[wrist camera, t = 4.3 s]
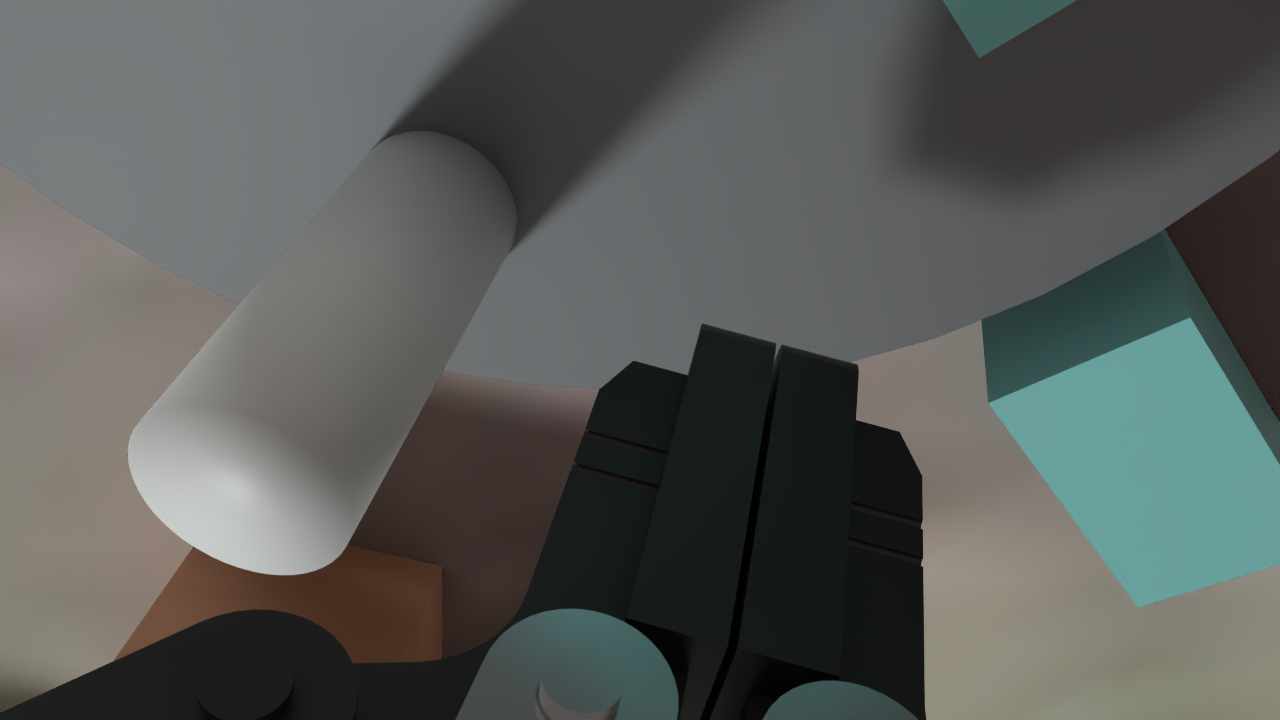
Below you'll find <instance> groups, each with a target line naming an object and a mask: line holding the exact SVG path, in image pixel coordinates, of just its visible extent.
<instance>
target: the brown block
mask: <svg viewBox="0 0 1280 720" xmlns="http://www.w3.org/2000/svg"><path fill="white" fill-rule="evenodd" d="M253 609H259V610H276V611H281V612H287V613H292V614H295V615H298V616H301V617H304V618H306V619H308V620H310V621H312V622H314V623H316V624H318V625H320V626H321V627H323V628H324V629H325V630H327V631H328V632H329V633H331V634H332V635H333V636H334V637H335V638H336V639H337V640H338V641H339V642H340V644H341V645H342V646H343V647H344V648H345V650H346V652H347V654H348V655H349V657H350V659H351V661H352V663H390V662H421V661H433V660H439V659H442V566H439V565H435V564H431V563H426V562H422V561H417V560H413V559H409V558H404V557H400V556H395V555H391V554H387V553H382V552H378V551H373V550H369V549H365V548H360V547H356V546H352V545H347V546H346V548H345V549H344V551H343V552H342V553H341V555H340V556H339V557H338V558H336V559H335V560H334V561H333V562H332V563H330V564H328V565H327V566H325V567H323V568H321V569H318V570H316V571H312V572H308V573H304V574H297V575H271V574H263V573H258V572H253V571H249V570H245V569H242V568H238V567H235V566H233V565H230V564H227V563H224V562H222V561H220V560H218V559H216V558H213V557H211V556H209V555H208V554H206V553H204V552H202V551H200V550H198V549H197V548H195V547H193V548H192V550H191V551H190V552H189V554H188V555H187V557H186V558H185V560H184V561H183V562H182V564H181V565H180V567H179V568H178V570H177V571H176V573H175V574H174V575H173V577H172V578H171V580H170V581H169V583H168V584H167V585H166V587H165V588H164V590H163V591H162V593H161V594H160V595H159V597H158V598H157V600H156V601H155V603H154V604H153V605H152V607H151V608H150V610H149V611H148V613H147V614H146V615H145V617H144V618H143V620H142V621H141V623H140V624H139V625H138V627H137V628H136V630H135V631H134V633H133V634H132V635H131V637H130V638H129V640H128V641H127V643H126V644H125V645H124V647H123V648H122V650H121V651H120V653H119V654H118V655H117V657H116V658H115V660H118V659H120V658H122V657H124V656H126V655H129V654H131V653H133V652H135V651H137V650H140V649H142V648H144V647H146V646H148V645H151V644H153V643H155V642H157V641H159V640H162V639H164V638H166V637H168V636H170V635H172V634H175V633H177V632H179V631H181V630H183V629H186V628H188V627H190V626H192V625H194V624H197V623H199V622H201V621H204V620H207V619H209V618H212V617H215V616H218V615H222V614H226V613H230V612H234V611H243V610H253ZM115 660H114V661H115Z"/></svg>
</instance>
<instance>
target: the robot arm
mask: <svg viewBox="0 0 1280 720" xmlns="http://www.w3.org/2000/svg"><path fill="white" fill-rule="evenodd" d="M775 351H776V343H774V342H770V341H766V340H763V339H759V338H755V337H751V336H748V335H744V334H740V333H736V332H733V331H729V330H725V329H721V328H718V327H714V326H710V325H707V324H703V323H702V324H701V328H700V331H699V335H698V338H697V342H696V346H695V349H694V353H693V357H692V360H691V364H690V367H689V371H688V375H685V374H681V373H678V372H674V371H670V370H667V369H663V368H659V367H655V366H652V365H648V364H644V363H641V362H637V361H632V362H631V363H630V364H629V365H628V366H626V367H625V368H624V369H623V370H622V371H621V372H619V373H618V374H617V375H616V376H615V377H613V378H612V379H611V380H610V381H609V382H608V383H606V384H605V385H604V386H603V387H602V388H600V389H599V392H598V395H597V398H596V400H595V403H594V406H593V409H592V412H591V415H590V417H589V420H588V423H587V426H586V429H585V432H584V436H583V437H582V440H581V443H580V445H579V448H578V451H577V454H576V457H575V460H574V462H573V466H572V470H571V471H570V474H569V476H568V479H567V482H566V485H565V488H564V490H563V493H562V496H561V499H560V502H559V505H558V507H557V510H556V513H555V516H554V519H553V521H552V524H551V527H550V530H549V533H548V535H547V538H546V541H545V544H544V547H543V550H542V552H541V555H540V558H539V561H538V564H537V566H536V569H535V572H534V575H533V578H532V580H531V583H530V586H529V589H528V592H527V595H526V597H525V599H524V601H523V603H522V605H521V608H520V609H519V611H518V612H517V613H516V615H515V616H514V618H513V619H512V621H511V622H510V623H509V624H508V625H507V626H506V627H505V628H504V629H503V630H502V631H501V632H499V633H498V634H497V635H495V636H494V637H493V638H491V639H490V640H488V641H487V642H485V643H483V644H482V645H480V646H478V647H476V648H474V649H472V650H470V651H467V652H464V653H461V654H459V655H456V656H453V657H448V658H443V659H439V660H433V661H421V662H390V663H352V661H351V659H350V657H349V655H348V654H347V652H346V650H345V648H344V647H343V646H342V645H341V644H340V642H339V641H338V640H337V639H336V638H335V637H334V636H333V635H332V634H331V633H329V632H328V631H327V630H325V629H324V628H323V627H321V626H320V625H318V624H316V623H314V622H312V621H310V620H308V619H306V618H304V617H301V616H298V615H295V614H292V613H287V612H281V611H276V610H259V609H253V610H243V611H234V612H230V613H226V614H222V615H218V616H215V617H212V618H209V619H207V620H204V621H201V622H199V623H197V624H194V625H192V626H190V627H188V628H186V629H183V630H181V631H179V632H177V633H175V634H172V635H170V636H168V637H166V638H164V639H162V640H159V641H157V642H155V643H153V644H151V645H148V646H146V647H144V648H142V649H140V650H137V651H135V652H133V653H131V654H129V655H126V656H124V657H122V658H120V659H118V660H115V661H113V662H111V663H109V664H107V665H104V666H102V667H100V668H98V669H96V670H93V671H91V672H89V673H87V674H85V675H82V676H80V677H78V678H76V679H74V680H71V681H69V682H67V683H65V684H63V685H61V686H58V687H56V688H54V689H52V690H50V691H47V692H45V693H43V694H41V695H39V696H36V697H34V698H32V699H30V700H28V701H25V702H23V703H21V704H19V705H17V706H14V707H12V708H10V709H8V710H6V711H3V712H1V713H0V720H926V714H925V692H924V601H923V567H921V562H922V559H923V529H921V524H922V521H923V510H922V475H921V473H920V471H919V469H918V467H917V465H916V463H915V461H914V459H913V457H912V455H911V453H910V451H909V450H908V448H907V446H906V444H905V442H904V440H903V438H902V436H901V434H900V432H898V431H894V430H891V429H887V428H883V427H879V426H876V425H872V424H868V423H865V422H861V421H857V420H856V408H857V391H858V373H859V370H858V365H857V364H853V363H850V362H846V361H842V360H839V359H835V358H831V357H827V356H824V355H820V354H816V353H812V352H809V351H805V350H801V349H797V348H794V347H790V346H786V345H781V347H780V348H779V351H778V353H777V356H776V358H775ZM774 358H775V361H774Z"/></svg>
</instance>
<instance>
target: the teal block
mask: <svg viewBox="0 0 1280 720" xmlns="http://www.w3.org/2000/svg"><path fill="white" fill-rule="evenodd" d="M982 331H983V343H984V356H985V368H986V380H987V392H988V403H989V405H990V406H991V407H992V409H993V410H994V411H995V413H996V414H997V416H998V417H999V418H1000V420H1001V421H1002V422H1003V424H1004V425H1005V426H1006V428H1007V429H1008V431H1009V432H1010V433H1011V435H1012V436H1013V437H1014V439H1015V440H1016V442H1017V443H1018V444H1019V446H1020V447H1021V448H1022V450H1023V451H1024V452H1025V454H1026V455H1027V457H1028V458H1029V459H1030V461H1031V462H1032V463H1033V465H1034V466H1035V468H1036V469H1037V470H1038V472H1039V473H1040V474H1041V476H1042V477H1043V478H1044V480H1045V481H1046V483H1047V484H1048V485H1049V487H1050V488H1051V489H1052V491H1053V492H1054V494H1055V495H1056V496H1057V498H1058V499H1059V500H1060V502H1061V503H1062V504H1063V506H1064V507H1065V509H1066V510H1067V511H1068V513H1069V514H1070V515H1071V517H1072V518H1073V520H1074V521H1075V522H1076V524H1077V525H1078V526H1079V528H1080V529H1081V530H1082V532H1083V533H1084V535H1085V536H1086V537H1087V539H1088V540H1089V541H1090V543H1091V544H1092V546H1093V547H1094V548H1095V550H1096V551H1097V552H1098V554H1099V555H1100V556H1101V558H1102V559H1103V561H1104V562H1105V563H1106V565H1107V566H1108V567H1109V569H1110V570H1111V572H1112V573H1113V574H1114V576H1115V577H1116V578H1117V580H1118V581H1119V582H1120V584H1121V585H1122V587H1123V588H1124V589H1125V591H1126V592H1127V593H1128V595H1129V596H1130V598H1131V599H1132V600H1133V602H1134V603H1135V604H1136V606H1137V607H1141V606H1144V605H1148V604H1151V603H1154V602H1158V601H1161V600H1164V599H1168V598H1171V597H1174V596H1177V595H1181V594H1184V593H1187V592H1191V591H1194V590H1197V589H1200V588H1204V587H1207V586H1210V585H1214V584H1217V583H1220V582H1223V581H1227V580H1230V579H1233V578H1237V577H1240V576H1243V575H1246V574H1250V573H1253V572H1256V571H1260V570H1263V569H1266V568H1269V567H1273V566H1276V565H1279V564H1280V423H1279V421H1278V419H1277V417H1276V416H1275V414H1274V412H1273V411H1272V409H1271V407H1270V406H1269V404H1268V402H1267V401H1266V399H1265V397H1264V396H1263V394H1262V392H1261V391H1260V389H1259V387H1258V386H1257V384H1256V382H1255V380H1254V379H1253V377H1252V375H1251V374H1250V372H1249V370H1248V369H1247V367H1246V365H1245V364H1244V362H1243V360H1242V359H1241V357H1240V355H1239V354H1238V352H1237V350H1236V348H1235V347H1234V345H1233V343H1232V342H1231V340H1230V338H1229V337H1228V335H1227V333H1226V332H1225V330H1224V328H1223V327H1222V325H1221V323H1220V322H1219V320H1218V318H1217V316H1216V315H1215V313H1214V311H1213V310H1212V308H1211V306H1210V305H1209V303H1208V301H1207V300H1206V298H1205V296H1204V295H1203V293H1202V291H1201V290H1200V288H1199V286H1198V285H1197V283H1196V281H1195V279H1194V278H1193V276H1192V274H1191V273H1190V271H1189V269H1188V268H1187V266H1186V264H1185V263H1184V261H1183V259H1182V258H1181V256H1180V254H1179V253H1178V251H1177V249H1176V247H1175V246H1174V244H1173V242H1172V241H1171V239H1170V237H1169V236H1168V234H1167V232H1166V231H1165V229H1163V230H1162V231H1160V232H1159V233H1157V234H1156V235H1154V236H1153V237H1151V238H1149V239H1147V240H1145V241H1143V242H1141V243H1139V244H1138V245H1136V246H1134V247H1132V248H1130V249H1128V250H1126V251H1124V252H1123V253H1121V254H1119V255H1117V256H1115V257H1113V258H1111V259H1109V260H1107V261H1106V262H1104V263H1102V264H1100V265H1098V266H1096V267H1094V268H1092V269H1091V270H1089V271H1087V272H1085V273H1083V274H1081V275H1079V276H1077V277H1075V278H1074V279H1072V280H1070V281H1068V282H1066V283H1064V284H1062V285H1060V286H1059V287H1057V288H1055V289H1053V290H1051V291H1049V292H1047V293H1045V294H1044V295H1041V296H1039V297H1036V298H1034V299H1031V300H1029V301H1026V302H1024V303H1021V304H1019V305H1016V306H1014V307H1011V308H1009V309H1007V310H1004V311H1002V312H999V313H997V314H994V315H992V316H989V317H987V318H984V319H982Z"/></svg>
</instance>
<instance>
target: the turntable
mask: <svg viewBox="0 0 1280 720" xmlns="http://www.w3.org/2000/svg"><path fill="white" fill-rule="evenodd" d="M1279 150H1280V0H0V163H1V164H2V165H4V166H5V167H6V168H8V169H9V170H11V171H12V172H13V173H15V174H16V175H18V176H19V177H20V178H22V179H23V180H24V181H26V182H27V183H29V184H30V185H31V186H33V187H34V188H36V189H37V190H38V191H40V192H41V193H43V194H44V195H45V196H47V197H48V198H50V199H51V200H52V201H54V202H55V203H57V204H58V205H59V206H61V207H62V208H63V209H65V210H66V211H68V212H69V213H71V214H73V215H74V216H76V217H78V218H79V219H81V220H83V221H84V222H86V223H88V224H89V225H91V226H93V227H94V228H96V229H98V230H99V231H101V232H103V233H104V234H106V235H108V236H109V237H111V238H113V239H115V240H116V241H118V242H120V243H121V244H123V245H125V246H126V247H128V248H130V249H131V250H133V251H135V252H136V253H138V254H140V255H141V256H143V257H145V258H146V259H148V260H150V261H151V262H153V263H155V264H156V265H158V266H160V267H162V268H164V269H166V270H168V271H170V272H172V273H174V274H176V275H178V276H181V277H183V278H185V279H187V280H189V281H191V282H193V283H195V284H197V285H199V286H201V287H203V288H205V289H208V290H210V291H212V292H214V293H216V294H218V295H220V296H222V297H224V298H226V299H228V300H230V301H232V302H234V303H237V304H239V305H238V307H237V308H236V309H235V310H234V311H233V312H232V314H231V315H230V316H229V317H228V318H227V319H226V321H225V322H224V323H223V324H222V325H221V327H220V328H219V329H218V330H217V331H216V332H215V334H214V335H213V336H212V337H211V338H210V339H209V341H208V342H207V343H206V344H205V345H204V346H203V348H202V349H201V350H200V351H199V352H198V353H197V355H196V356H195V357H194V358H193V359H192V360H191V362H190V363H189V364H188V365H187V366H186V367H185V369H184V370H183V371H182V372H181V373H180V374H179V376H178V377H177V378H176V379H175V380H174V381H173V383H172V384H171V385H170V386H169V387H168V388H167V390H166V391H165V392H164V393H163V394H162V395H161V397H160V398H159V399H158V400H157V401H156V402H155V404H154V405H153V406H152V407H151V408H150V409H149V411H148V412H147V413H146V414H145V415H144V417H143V418H142V419H141V420H140V421H139V423H138V424H137V425H136V427H135V428H134V430H133V432H132V434H131V437H130V441H129V445H128V461H129V467H130V471H131V474H132V477H133V480H134V482H135V484H136V486H137V489H138V491H139V492H140V494H141V496H142V497H143V499H144V500H145V502H146V503H147V504H148V506H149V507H150V508H151V510H152V511H153V512H154V513H155V514H156V515H157V517H158V518H159V519H160V520H161V521H162V522H163V523H164V524H165V525H166V526H168V527H169V528H170V529H171V530H172V531H173V532H174V533H176V534H177V535H178V536H179V537H181V538H182V539H183V540H185V541H186V542H188V543H189V544H191V545H192V546H194V547H195V548H197V549H198V550H200V551H202V552H204V553H206V554H208V555H209V556H211V557H213V558H216V559H218V560H220V561H222V562H224V563H227V564H230V565H233V566H235V567H238V568H242V569H245V570H249V571H253V572H258V573H263V574H271V575H297V574H304V573H308V572H312V571H316V570H318V569H321V568H323V567H325V566H327V565H328V564H330V563H332V562H333V561H334V560H335V559H336V558H338V557H339V556H340V555H341V553H342V552H343V551H344V549H345V548H346V546H347V544H348V543H349V541H350V539H351V537H352V535H353V534H354V532H355V530H356V528H357V526H358V525H359V523H360V521H361V519H362V517H363V515H364V514H365V512H366V510H367V508H368V506H369V505H370V503H371V501H372V499H373V497H374V495H375V494H376V492H377V490H378V488H379V486H380V485H381V483H382V481H383V479H384V477H385V476H386V474H387V472H388V470H389V468H390V466H391V465H392V463H393V461H394V459H395V457H396V456H397V454H398V452H399V450H400V448H401V446H402V445H403V443H404V441H405V439H406V437H407V436H408V434H409V432H410V430H411V428H412V427H413V425H414V423H415V421H416V419H417V417H418V416H419V414H420V412H421V410H422V408H423V407H424V405H425V403H426V401H427V399H428V398H429V396H430V394H431V392H432V390H433V388H434V387H435V385H436V383H437V381H438V379H439V378H440V376H441V374H442V372H443V371H448V372H454V373H461V374H467V375H473V376H480V377H486V378H492V379H499V380H505V381H511V382H517V383H524V384H530V385H545V386H564V387H582V388H602V387H603V386H604V385H605V384H606V383H608V382H609V381H610V380H611V379H612V378H613V377H615V376H616V375H617V374H618V373H619V372H621V371H622V370H623V369H624V368H625V367H626V366H628V365H629V364H630V363H631V362H632V361H637V362H641V363H644V364H648V365H652V366H655V367H659V368H663V369H667V370H670V371H674V372H678V373H681V374H685V375H688V371H689V367H690V364H691V360H692V357H693V353H694V349H695V346H696V342H697V338H698V335H699V331H700V328H701V324H702V323H703V324H707V325H710V326H714V327H718V328H721V329H725V330H729V331H733V332H736V333H740V334H744V335H748V336H751V337H755V338H759V339H763V340H766V341H770V342H774V343H776V351H775V358H776V356H777V353H778V351H779V348H780V347H781V345H786V346H790V347H794V348H797V349H801V350H805V351H809V352H812V353H816V354H820V355H824V356H827V357H831V358H835V359H839V360H842V361H846V362H852V361H856V360H859V359H863V358H866V357H870V356H873V355H877V354H881V353H884V352H888V351H891V350H895V349H899V348H902V347H906V346H909V345H913V344H916V343H920V342H924V341H927V340H931V339H934V338H937V337H939V336H942V335H944V334H947V333H949V332H952V331H954V330H957V329H959V328H962V327H964V326H967V325H969V324H972V323H974V322H977V321H979V320H982V319H984V318H987V317H989V316H992V315H994V314H997V313H999V312H1002V311H1004V310H1007V309H1009V308H1011V307H1014V306H1016V305H1019V304H1021V303H1024V302H1026V301H1029V300H1031V299H1034V298H1036V297H1039V296H1041V295H1044V294H1045V293H1047V292H1049V291H1051V290H1053V289H1055V288H1057V287H1059V286H1060V285H1062V284H1064V283H1066V282H1068V281H1070V280H1072V279H1074V278H1075V277H1077V276H1079V275H1081V274H1083V273H1085V272H1087V271H1089V270H1091V269H1092V268H1094V267H1096V266H1098V265H1100V264H1102V263H1104V262H1106V261H1107V260H1109V259H1111V258H1113V257H1115V256H1117V255H1119V254H1121V253H1123V252H1124V251H1126V250H1128V249H1130V248H1132V247H1134V246H1136V245H1138V244H1139V243H1141V242H1143V241H1145V240H1147V239H1149V238H1151V237H1153V236H1154V235H1156V234H1157V233H1159V232H1160V231H1162V230H1163V229H1165V228H1166V227H1168V226H1169V225H1171V224H1172V223H1174V222H1175V221H1177V220H1178V219H1180V218H1181V217H1183V216H1184V215H1186V214H1187V213H1189V212H1190V211H1192V210H1193V209H1195V208H1196V207H1197V206H1199V205H1200V204H1202V203H1203V202H1205V201H1206V200H1208V199H1209V198H1211V197H1212V196H1214V195H1215V194H1217V193H1218V192H1220V191H1221V190H1223V189H1224V188H1226V187H1227V186H1229V185H1230V184H1232V183H1233V182H1235V181H1236V180H1237V179H1239V178H1240V177H1242V176H1243V175H1245V174H1246V173H1248V172H1249V171H1251V170H1252V169H1254V168H1255V167H1257V166H1258V165H1260V164H1261V163H1263V162H1264V161H1266V160H1267V159H1269V158H1270V157H1272V156H1273V155H1274V154H1275V153H1276V152H1278V151H1279ZM775 358H774V361H775Z"/></svg>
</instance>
